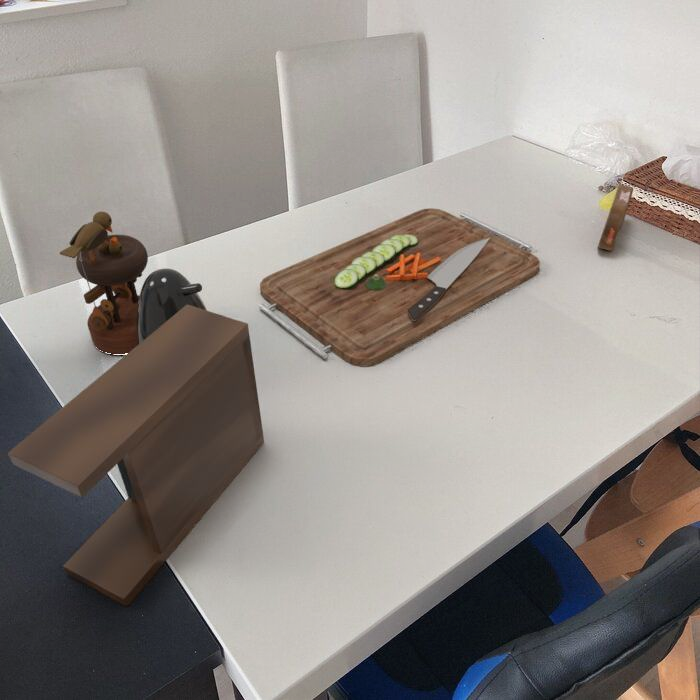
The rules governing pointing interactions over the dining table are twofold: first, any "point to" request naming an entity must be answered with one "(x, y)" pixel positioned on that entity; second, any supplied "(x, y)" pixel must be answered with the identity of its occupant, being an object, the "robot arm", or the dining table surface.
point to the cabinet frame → (154, 443)
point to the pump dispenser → (164, 300)
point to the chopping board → (396, 284)
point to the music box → (109, 282)
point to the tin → (616, 217)
